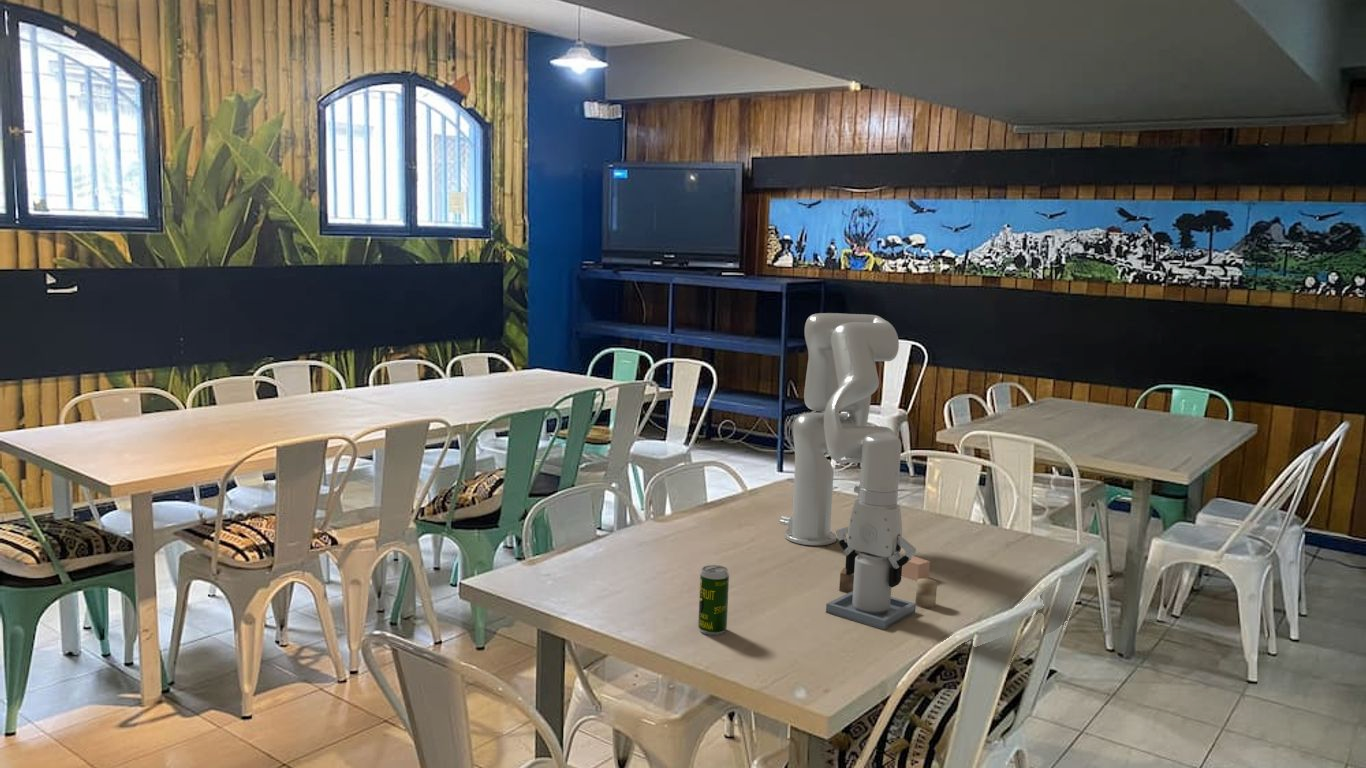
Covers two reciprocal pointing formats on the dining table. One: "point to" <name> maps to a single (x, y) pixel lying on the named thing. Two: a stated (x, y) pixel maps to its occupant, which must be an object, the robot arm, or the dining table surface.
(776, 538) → the dining table surface
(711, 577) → the green drink can
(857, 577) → the can
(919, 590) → the cork cylinder
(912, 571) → the terracotta block
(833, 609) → the tray
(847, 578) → the walnut block
